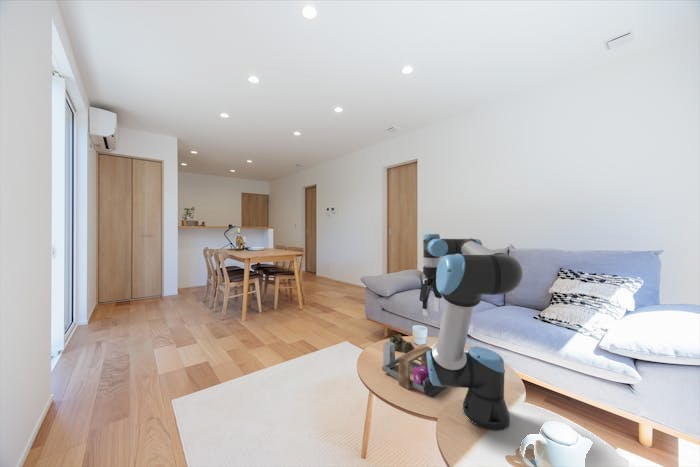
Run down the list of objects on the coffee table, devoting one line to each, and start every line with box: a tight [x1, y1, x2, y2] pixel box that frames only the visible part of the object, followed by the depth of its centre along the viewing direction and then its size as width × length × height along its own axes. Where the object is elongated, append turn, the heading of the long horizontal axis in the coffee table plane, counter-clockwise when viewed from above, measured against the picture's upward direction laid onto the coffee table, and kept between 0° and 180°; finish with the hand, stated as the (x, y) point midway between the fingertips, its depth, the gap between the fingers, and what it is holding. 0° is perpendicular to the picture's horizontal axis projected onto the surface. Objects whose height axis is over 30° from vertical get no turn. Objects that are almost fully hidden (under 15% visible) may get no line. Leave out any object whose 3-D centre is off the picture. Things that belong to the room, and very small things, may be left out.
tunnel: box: [398, 344, 433, 391], centre depth 121 cm, size 5×18×12 cm, turn 132°
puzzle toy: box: [413, 366, 429, 385], centre depth 119 cm, size 6×6×6 cm
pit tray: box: [424, 385, 446, 398], centre depth 114 cm, size 4×12×1 cm, turn 132°
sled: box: [381, 340, 433, 393], centre depth 124 cm, size 26×15×11 cm, turn 42°
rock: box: [388, 333, 415, 353], centre depth 153 cm, size 13×10×10 cm
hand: (431, 313), depth 128 cm, fingers open, 9 cm apart
